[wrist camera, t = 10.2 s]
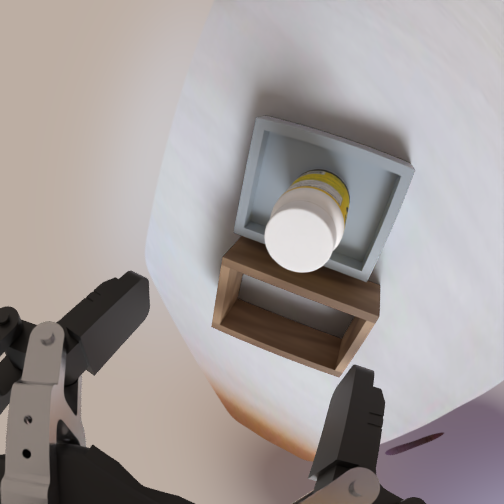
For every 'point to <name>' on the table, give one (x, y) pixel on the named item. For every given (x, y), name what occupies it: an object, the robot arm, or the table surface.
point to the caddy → (283, 329)
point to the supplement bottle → (308, 221)
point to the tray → (333, 159)
